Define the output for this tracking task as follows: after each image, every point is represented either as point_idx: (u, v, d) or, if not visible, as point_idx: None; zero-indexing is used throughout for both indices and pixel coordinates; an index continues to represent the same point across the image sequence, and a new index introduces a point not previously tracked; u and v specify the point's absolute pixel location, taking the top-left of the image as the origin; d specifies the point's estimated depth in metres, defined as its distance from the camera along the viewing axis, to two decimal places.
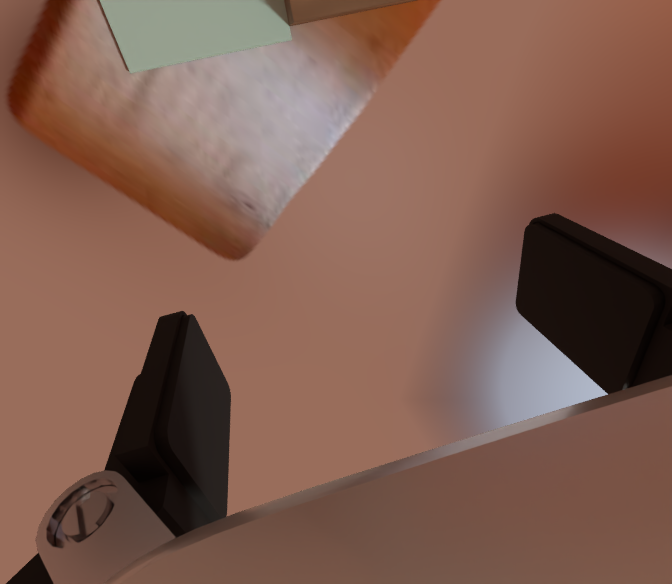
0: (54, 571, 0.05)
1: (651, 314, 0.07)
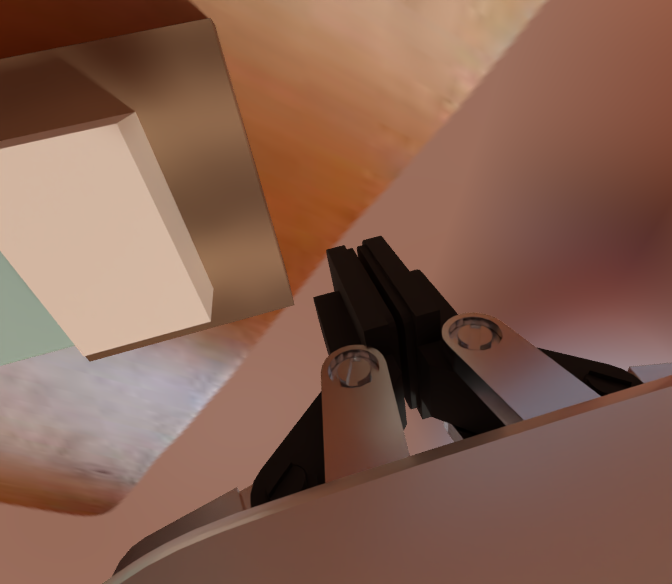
0: (323, 393, 0.07)
1: (409, 336, 0.08)
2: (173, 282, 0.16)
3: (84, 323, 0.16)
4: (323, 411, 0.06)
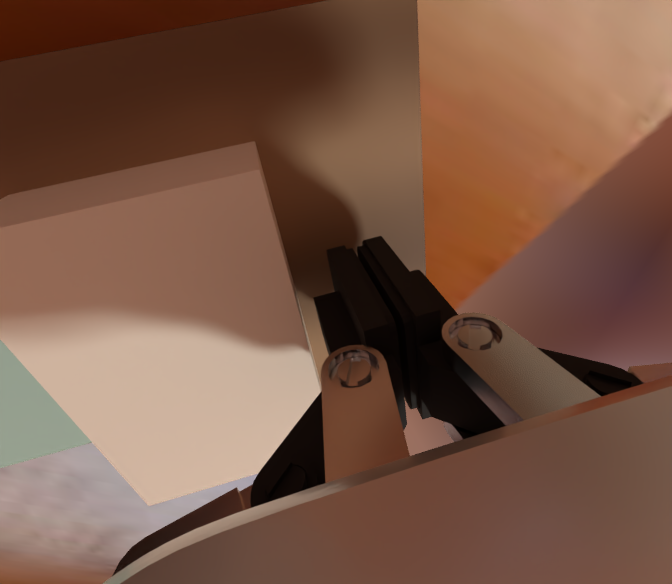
0: (323, 393, 0.07)
1: (408, 336, 0.08)
2: (296, 404, 0.10)
3: (156, 466, 0.10)
4: (323, 411, 0.06)
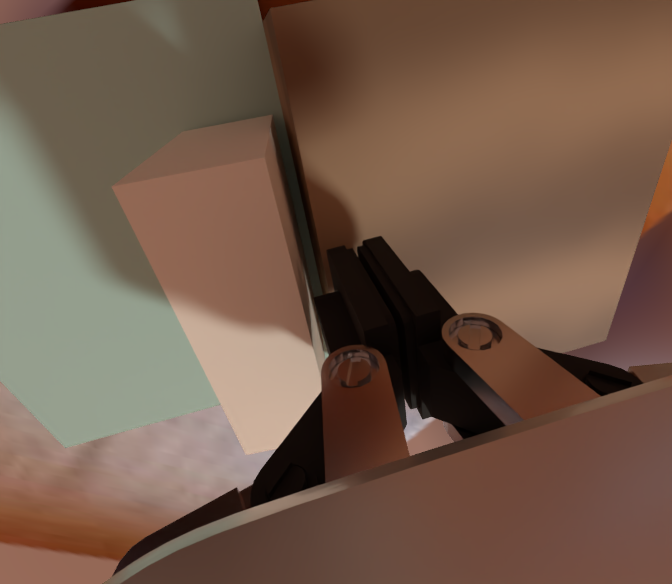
0: (323, 393, 0.07)
1: (408, 336, 0.08)
2: None
3: None
4: (323, 411, 0.06)
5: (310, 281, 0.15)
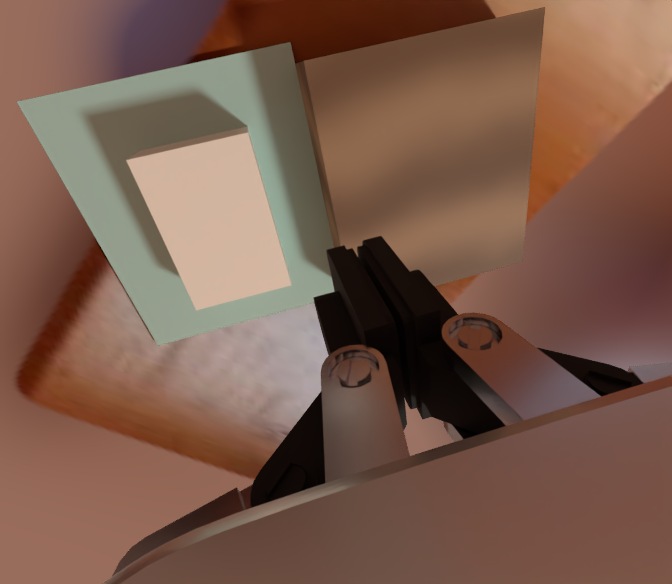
0: (323, 393, 0.07)
1: (408, 336, 0.08)
2: None
3: None
4: (323, 411, 0.06)
5: (277, 249, 0.22)
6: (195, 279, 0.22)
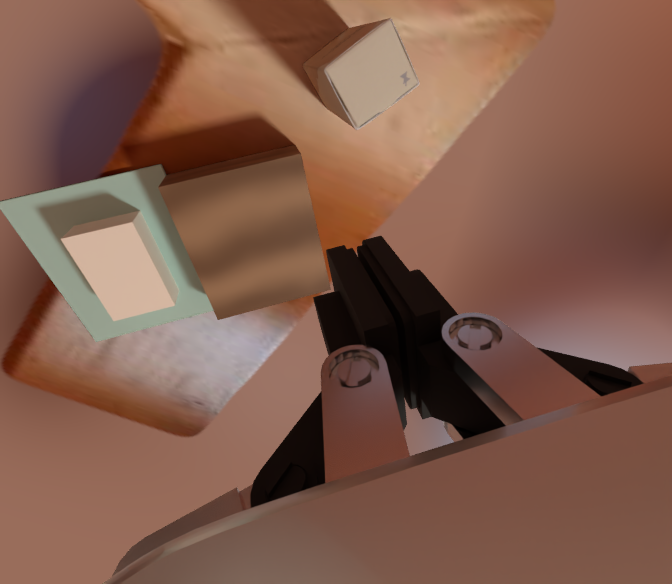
0: (323, 393, 0.07)
1: (409, 336, 0.08)
2: None
3: None
4: (323, 411, 0.06)
5: (161, 284, 0.35)
6: (110, 303, 0.35)
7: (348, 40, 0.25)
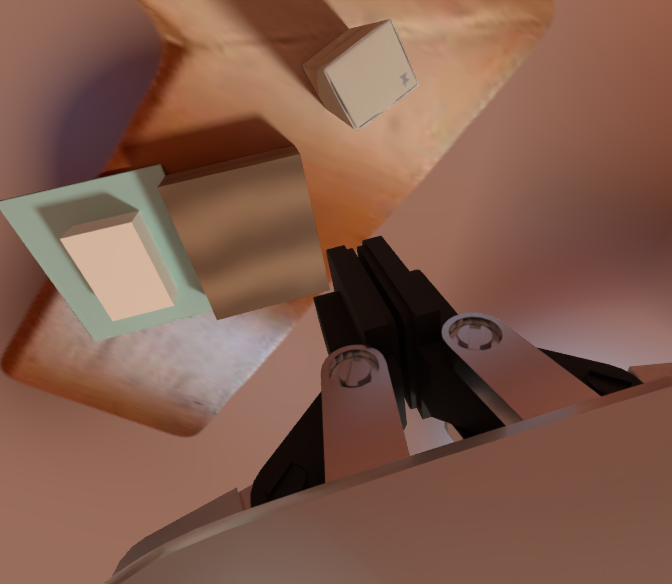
0: (323, 393, 0.07)
1: (408, 336, 0.08)
2: None
3: None
4: (323, 411, 0.06)
5: (160, 285, 0.35)
6: (109, 303, 0.35)
7: (348, 41, 0.25)
